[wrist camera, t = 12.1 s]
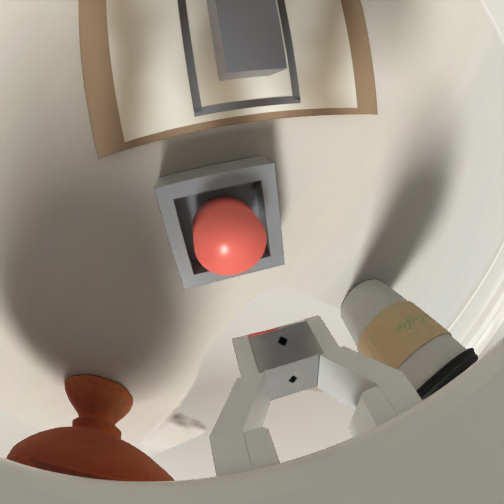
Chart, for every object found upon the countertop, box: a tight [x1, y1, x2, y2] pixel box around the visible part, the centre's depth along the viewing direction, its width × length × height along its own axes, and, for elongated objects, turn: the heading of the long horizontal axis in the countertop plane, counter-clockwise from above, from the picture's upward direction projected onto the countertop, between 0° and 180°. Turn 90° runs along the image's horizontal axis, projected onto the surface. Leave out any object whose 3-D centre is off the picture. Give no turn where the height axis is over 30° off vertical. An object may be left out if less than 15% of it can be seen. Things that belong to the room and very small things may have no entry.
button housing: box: [154, 156, 284, 289], centre depth 18 cm, size 7×7×3 cm
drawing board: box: [79, 0, 378, 158], centre depth 12 cm, size 20×18×1 cm
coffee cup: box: [341, 279, 478, 400], centre depth 21 cm, size 9×9×15 cm
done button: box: [192, 195, 267, 276], centre depth 16 cm, size 4×4×3 cm
